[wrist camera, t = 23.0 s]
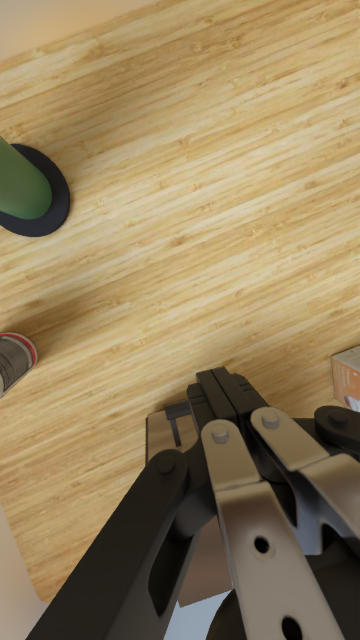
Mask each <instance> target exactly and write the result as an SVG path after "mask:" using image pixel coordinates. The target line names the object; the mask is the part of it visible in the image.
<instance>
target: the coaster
mask: <svg viewBox="0 0 360 640" xmlns="http://www.w3.org/2000/svg"><path fill="white" fill-rule="evenodd" d="M10 145H11V146H12V147H13V148H15V149H16V150H17V151H18V152H19V153H20V154H21V155H23V156H24V157H25V158H26V159H27V160H28V161H30V162H31V163H32V164H33V165H34V166H35V167H36V168H38V169H39V170H40V171H41V172H42V173H43V174H44V176H45V177H46V178H47V180H48V182H49V184H50V187H51V191H52V202H51V205H50V207H49V209H48V211H47V212H46V213H45V214H44V215H42V216H41V217H39V218H36V219H22V218H19V217H16V216H13V215H10V214H7V213H5V212H2V211H0V225H1V226H2V227H4V228H5V229H7V230H9V231H11V232H13V233H16V234H19V235H22V236H28V237H41V236H45V235H48V234H51V233H53V232H54V231H56V230H57V229H58V228H59V227H60V226H61V225H62V224H63V223H64V221H65V220H66V218H67V215H68V212H69V208H70V193H69V189H68V185H67V183H66V180H65V178H64V176H63V175H62V173H61V171H60V170H59V169H58V167H57V166H56V165H55V164H54V163H53V162H52V161H51V160H50V159H49V158H48V157H47V156H45V155H44V154H43V153H41V152H40V151H38V150H36V149H34V148H31V147H28V146H25V145H20V144H10Z"/></svg>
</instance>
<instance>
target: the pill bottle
mask: <svg viewBox="0 0 360 640" xmlns="http://www.w3.org/2000/svg"><path fill="white" fill-rule="evenodd" d="M37 358H38V355H37V350H36V348H35V346H34V344H33V343H32V342H31V341H30V340H29V339H28V338H26V337H25V336H23V335H21V334H17V333H12V332H6V333H1V334H0V399H1V398H2V397H3V396H4V395H5V394H6V393H7V392H8V391H9V390H10V389H11V388H13V387H14V386H15V385H16V384H17V383H18V382H19V381H20V380H21V379H22V378H23V377H25V376H26V375H27V374H28V373H29V372H30V371H31V370H32V369H33V368H34V366H35V364H36V362H37Z"/></svg>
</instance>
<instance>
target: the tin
mask: <svg viewBox="0 0 360 640" xmlns="http://www.w3.org/2000/svg"><path fill="white" fill-rule="evenodd" d="M51 202H52V191H51V187H50V184H49V182H48V180H47V178H46V177H45V176H44V174H43V173H42V172H41V171H40V170H39V169H38V168H36V167H35V166H34V165H33V164H32V163H31V162H30V161H28V160H27V159H26V158H25V157H24V156H23V155H21V154H20V153H19V152H18V151H17V150H16V149H15V148H13V147H12V146H11V145H10V144H9V143H8V142H7V141H5V140H4V139H3V138H2V137H1V136H0V211H2V212H5V213H7V214H10V215H13V216H16V217H19V218H22V219H36V218H39V217H41V216H42V215H44V214H45V213H46V212H47V211H48V209H49V207H50V205H51Z"/></svg>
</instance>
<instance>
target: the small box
mask: <svg viewBox="0 0 360 640" xmlns="http://www.w3.org/2000/svg"><path fill="white" fill-rule="evenodd" d="M331 362H332V369H333V380H334V391H335V399H336V400H337V401H339V402H340V403H341V404H343V405H344V406H346V407H347V408H348V409H350V410H353V411H357V412H360V346H358V347H355V348H352V349H350V350H347V351H344V352H342V353H339V354H336V355H334V356H331Z"/></svg>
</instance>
